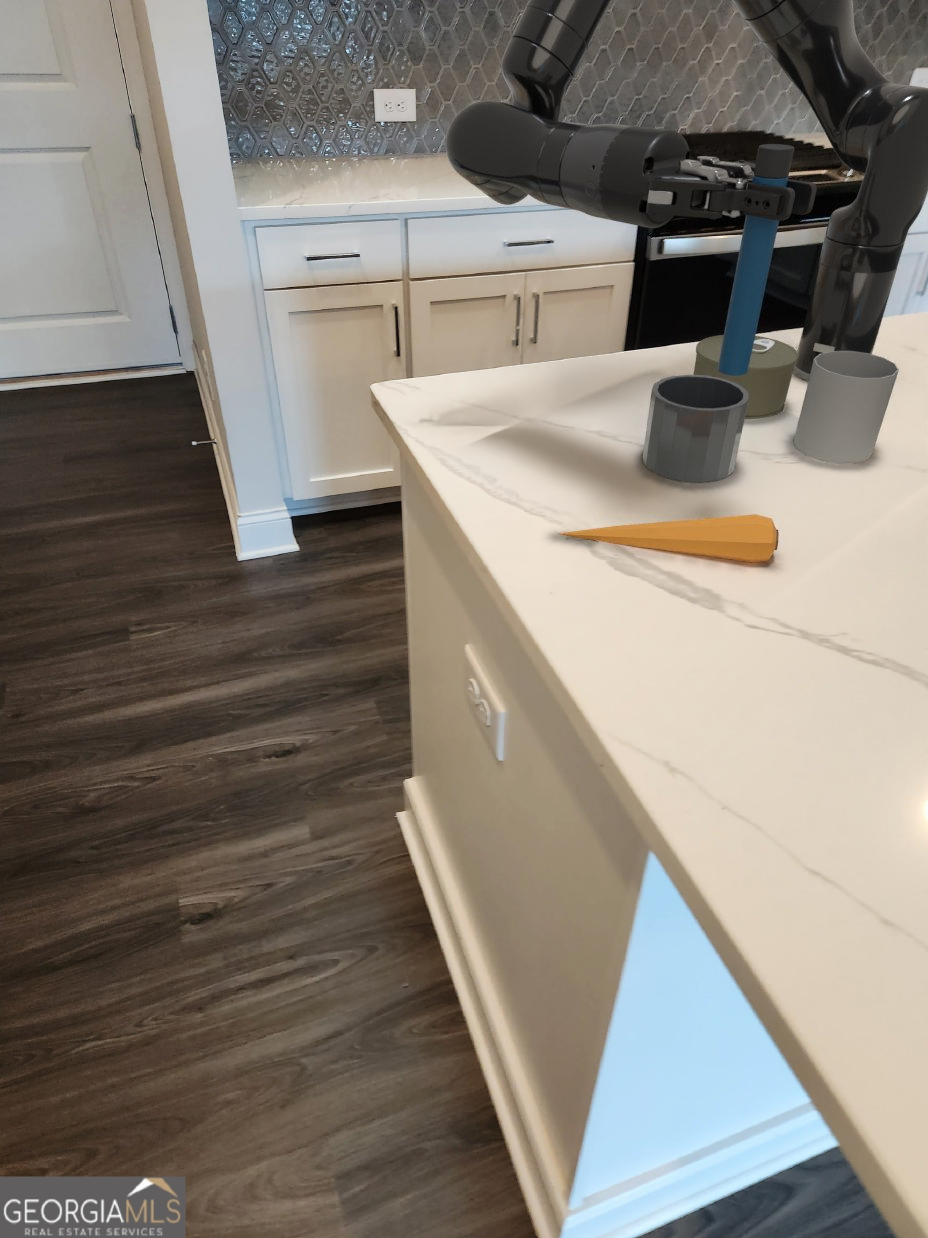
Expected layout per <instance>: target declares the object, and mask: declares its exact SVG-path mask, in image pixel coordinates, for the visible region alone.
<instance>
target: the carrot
mask: <svg viewBox="0 0 928 1238" xmlns="http://www.w3.org/2000/svg"><path fill="white" fill-rule="evenodd" d="M775 525H776V524H775V523H774V520H773V518H771V517H767V516H763V515H759V514H755V513H754V514H744V515H742V514H741V515H732V516H719V517H708V518H707V517H706V518H705V517H704V518H695V519H684V520H683V519H682V520H671V521H659V522H658V521H657V522H647V523H646V522H645V523H634V524H621V525H612V526H604V527H597V528H590V529H582V530H575V531H566V532H559V533H557V535H561V536H566V537H569V538H570V537H571V538H576V539H581V540H586V541H591V542H592V541H593V542H597V543H598V542H599V541H600V542H604V543H611V544H617V545H623V546H631V547H638V548H645V549H646V548H647V549H653V550H660V551H667V552H674V553H681V554H682V553H683V554H688V555H697V556H704V557H710V558H718V559H724V560H733V561H741V562H747V563H760V562H769V561H770V559H771V557H772V556H773V553H774V552H775V551H777V550H778V546H779V535H780V533H779V529H778V528H776V526H775Z"/></svg>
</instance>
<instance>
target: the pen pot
mask: <svg viewBox="0 0 928 1238" xmlns="http://www.w3.org/2000/svg"><path fill="white" fill-rule="evenodd" d="M748 401H749V393H748V392H747V391H746V390H745V389H744V388H743V387H742V386H740V385H738V384H736V383H734V382H732V381H729V380H725V379H722V378H718V377H712V376H706V375H693V374H679V375H671V376H667V377H664V378H661V379H659V380H658V381H656V382H655V383H653V385H652V388H651V394H650V400H649V406H648V407H649V408H648V414H647V422H646V430H645V436H644V444H643V452H642V462H643V465H644V466H645V467H646V469H648V470H649V471H651V473H653V474H655V475H657V476H659V477H662V478H664V479H667V480H671V481H675V482H680V483H687V484H706V483H713V482H717V481H722V480H724V479H726V478H728V477H729V476H730V475H731V474H732V473H733V472H734V471H735V467H736V463H737V457H738V453H739V448H740V443H741V438H742V435H743V428H744V424H745V420H746V419H745V415H746V410H747V406H748Z"/></svg>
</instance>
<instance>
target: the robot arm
mask: <svg viewBox="0 0 928 1238" xmlns="http://www.w3.org/2000/svg"><path fill="white" fill-rule="evenodd" d="M613 1H614V0H528V1H527V3H526V5H525V7H524V10H523V12H522V14H521V16H520V17H519V20H518V22H517V24H516V26H515V28H514V30H513V33H512V34H511V37H510V39H509V40H508V43H507V45H506V47H505V50H504V51H503V52H504V53H503V55H502V58H501V62H500V71H501V75H502V77H503V80H504V81H505V83H506V84H507V86H508V88H509V91H510V93H511V97H512V101H511V104H509V103H506V102H502V101H500V100H499V101H498V100H493V99H492V100H491V99H490V100H489V99H487V100H485V99H484V100H479V101H475V102H472V103H470V104H468V105H466V106H464V107H463V108H462V109H460V110H459V112H457V113H456V114H455V116H454V117H453V118H452V120H451V121H450V123H449V125H448V127H447V130H446V134H445V139H444V142H445V143H444V144H445V147H444V148H445V153H446V157H447V160H448V162H449V164H450V165H451V167H452V169H453V170H454V171H455V172H456V173H457V174H458V175H459V176H460V177H461V178H463V179H464V180H465V181H467V182H468V183H469V184H471V185H472V186H474V187H475V188H477V190H479V191H481V192H482V193H483V194H485V195H486V196H487V197H489V198H490V199H491V200H492V201H494V202H495V203H497V204H500V205H504V206H511V205H515V204H517V203H520V202H521V201H523V200H524V199H526V198H527V197H528V196H530V197H531V198H533V199H535V201H536V200H537V201H538V202H540V203H543V204H546V205H549V206H554V207H557V208H564V209H567V210H574V211H577V212H581V213H583V214H585V215H588V216H591V217H593V218H594V217H595V218H598V219H604V220H607V221H614V222H618V223H622V224H626V225H627V224H628V225H632V226H638V227H643V228H648V229H657V228H660V227H662V226H665V225H666V224H667V223H668V222H669V221H671V220H672V219H673V218H674V217H688V218H689V217H691V218H700V219H701V218H703V219H710V220H718V219H721V218H722V217H723V215H724V216H728V217H730V218H737V217H742V216H746V215H748V216H753V217H759V218H765V219H771V220H776V221H779V222H783V221H785V220H788V219H789V218H791V216H792V214H793V215H799V216H803V215H804V216H805V215H807V214H809V213H811V212H812V210H813V208H814V203H815V199H816V194H817V189H818V188H817V185H816V183H814V182H812V181H811V182H809V181H803V180H795V179H790V178H788V181H787V186H786V187H781V186H774V185H767V184H760V183H754V182H752V181H753V176H754V170H755V164H756V163H753V162H749V161H746V160H745V159H738V160H736V161H733V162H732V161H723V160H721V159H720V158H719V157H717V156H707V155H700V156H697V157H696V160H695V159H693V158H692V155H691V153H690V147H689V145H688V142H687V140H686V139H685V137H684V136H683V135H682V134H681V133H679V132H678V131H676V130H673V129H663V128H656V127H647V126H638V125H637V126H636V125H629V124H628V125H627V124H620V123H619V124H618V123H601V124H600V123H599V124H589V123H581V122H572V121H571V122H570V121H560V118H561V114H562V110H563V104H564V101H565V97H566V93H567V92H568V89H569V87H570V85H571V83H572V82H573V79H574V77H575V76H576V74H577V71H578V70H579V67H580V66H581V64H582V62H583V60H584V58H585V56H586V54H587V52H588V50H589V48H590V46H591V44H592V42H593V40H594V38H595V36H596V34H597V32H598V30H599V28H600V26H601V24H602V22H603V20H604V18H605V16H606V14H607V12H608V10H609V8H610V6H611V5H612V3H613ZM731 1H732V4H733V5H734V7H735V8H736V9H737V11H738V12H739V15H741V17H742V18H743V20H744V21H745V22H746V24H747V26H749V28H750V29H751V31H752V33H753V34H754V35H755V36H756V38H757V39H758V41H759V42H760V43H761V44H762V45H763V47H764V48H765V49H766V50H767V52H769V53H770V55H771V56H772V57H773V59H774V60H775V61H776V63H777V64H778V66H779V67H780V68H781V70H782V71H783V72H784V73H785V75H786V77H787V78H788V79H789V80H790V81H791V82H792V84H793V85H794V86H795V87H796V88H797V89H798V90H799V92H800V93H801V94H802V95H803V97H804V98H805V100H806V101H807V103H808V105H809V106H810V108H811V110H812V111H813V113H814V115H815V117H816V119H817V121H818V123H819V124H820V126H821V128H822V129H823V131H824V133H825V135H826V137H827V139H828V141H829V143H830V146H831V148H832V149H833V150H834V152H835V153H836V155H837V157H838V158H839V160H840V161H841V162H842V164H844V165H845V166H846V167H847V168H849V169H851V170H852V171H854V172H856V173H859V174H863V178H862V181H861V184H860V187H859V191H858V193H857V196H856V198H855V199H854V200H853V202H851V203H849V204H848V205H846V206H841V207H839V208H837V209H835V210H834V211H833V212H832V213H831V214H830V217H829V219H828V224H827V226H826V231H825V235H824V239H823V242H822V247H821V251H820V256H819V260H818V264H817V269H816V273H815V277H814V281H813V285H812V289H811V294H810V297H809V301H808V302H809V303H808V307H807V310H806V314H805V319H804V323H803V327H802V332H801V336H800V340H799V344H798V348H797V353H798V359H797V362H796V363H795V366H794V369H793V374H795V375H796V376H797V377H799V378H801V379H803V380H806V381H809V377H810V373H811V369H812V365H813V361H814V358H816V357H817V356H818V355H819V354H822V353H826V352H831V351H854V352H862V353H869V354H872V355H873V352H874V348H875V345H876V342H877V338H878V335H879V331H880V328H881V325H882V321H883V318H884V314H885V311H886V307H887V305H888V301H889V298H890V294H891V290H892V288H893V283H894V280H895V278H896V274H897V270H898V266H899V263H900V259H901V256H902V253H903V250H904V246H905V243H906V239H907V236H908V233H909V230H910V229H911V227H912V226H913V224H914V222H916V220H917V219H918V217H919V215H920V213H921V211H922V209H923V206H924V204H925V201H926V199H927V196H928V87H925V86H918V85H909V84H901V83H900V84H899V83H895V82H892V81H890V80H889V79H887V78H886V77H885V76H884V74H883V73H881V71H879V69H878V68H877V67H876V66H875V64H874V63H873V61H872V60H871V58H870V57H869V56H868V55H867V53H866V51H865V50H864V48H863V46H862V45H861V43H860V41H859V39H858V35H857V32H856V26H855V17H854V16H855V15H854V1H853V0H731Z"/></svg>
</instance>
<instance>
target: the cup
mask: <svg viewBox="0 0 928 1238" xmlns="http://www.w3.org/2000/svg"><path fill="white" fill-rule="evenodd" d="M899 371H900V369H899V367H898V366H897V364H896V363H895V362H893V361H891V360H889V359H887V358H885V357H882V356H879V355H875V354H873V353H872V354H869V353H862V352H854V351H831V352H826V353H822V354H819V355H818V356H817V357H816V358H814V361H813V365H812V369H811V373H810V377H809V380H807V381H808V382H807V386H806V388H805V389H806V390H805V393H804V397H803V400H802V401H803V402H802V406H801V410H800V414H799V418H798V421H797V425H796V428H795V429H796V430H795V432H794V437H793V444H794V448H795V449H797V451H799V452H800V453H801V454H803V455H804V456H807V457H810V458H812V459H814V460H817V461H819V462H826V463H832V464H839V465H841V464H843V465H844V464H846V465H847V464H858V463H862V462H865V461H868V460H869V459H870V458H871V456H872V455H873V454H874V450H875V447H876V443H877V441H878V438H879V434H880V431H881V428H882V425H883V421H884V418H885V415H886V413H887V410H888V406H889V403H890V400H891V396H892V394H893V390H894V387H895V383H896V381H897V378H898V374H899Z"/></svg>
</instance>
